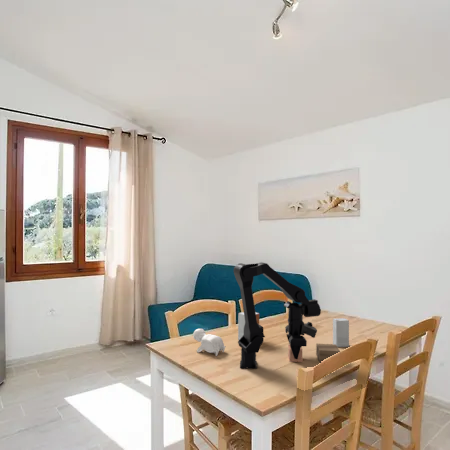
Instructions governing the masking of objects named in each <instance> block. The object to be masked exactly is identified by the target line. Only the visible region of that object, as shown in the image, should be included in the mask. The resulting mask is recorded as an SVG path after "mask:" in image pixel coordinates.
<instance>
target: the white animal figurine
mask: <svg viewBox="0 0 450 450" xmlns="http://www.w3.org/2000/svg"><path fill="white" fill-rule="evenodd" d="M192 335H193V339H194V340H195V341H197V342H200V343H201V344H200V346H199V347H198V348H197V350H196V353H198V354H199V353H200V352H202V351H206V352H207V353H211V354H215V357H218V355H219V352H221V351H222V353H224V352H225V349H226V346H225V343H224V340H223V338H222V337H221V336H219V335H215V334H210V333H209V334H206V331H205V329H203V328H197V329H195V330H194V331H193V333H192Z"/></svg>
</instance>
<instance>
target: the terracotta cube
mask: <svg viewBox="0 0 450 450" xmlns="http://www.w3.org/2000/svg"><path fill="white" fill-rule="evenodd" d="M287 350H288V352H287V357H288V360H289V361H288V362H296V363H303V348H302V347H301V348H300V351H299V355H298V359H295V358H294V355H293V352H292V350H291V347H290V344H288V348H287ZM297 361H298V362H297Z"/></svg>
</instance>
